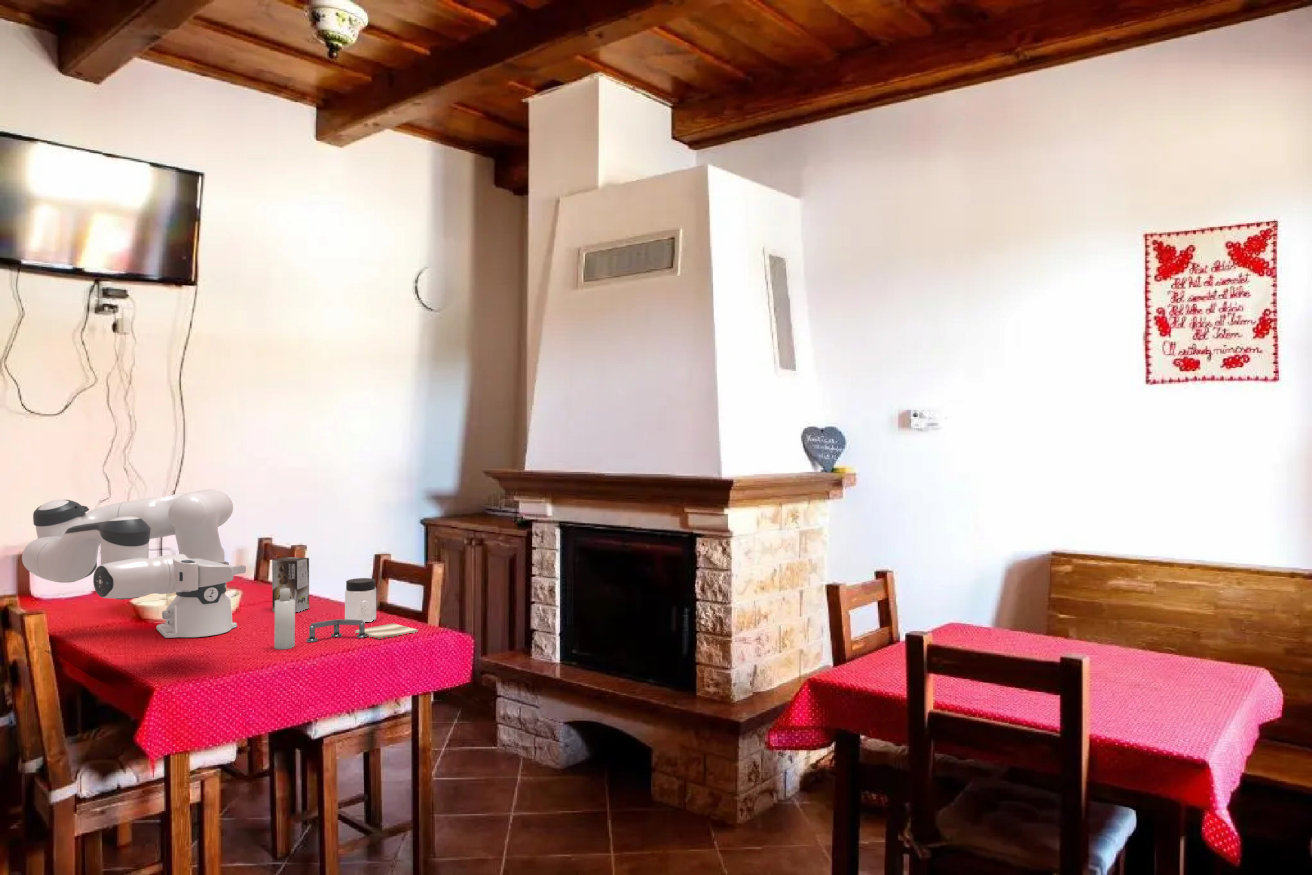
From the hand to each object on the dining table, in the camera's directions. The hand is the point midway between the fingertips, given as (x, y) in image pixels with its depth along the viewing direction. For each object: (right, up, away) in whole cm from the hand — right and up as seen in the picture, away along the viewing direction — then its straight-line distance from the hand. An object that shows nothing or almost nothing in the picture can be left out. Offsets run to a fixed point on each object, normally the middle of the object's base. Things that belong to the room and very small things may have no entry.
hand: (236, 566), depth 218 cm
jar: (+17, -22, +42) cm, 50 cm away
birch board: (+29, -22, +27) cm, 45 cm away
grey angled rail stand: (+18, -22, +19) cm, 34 cm away
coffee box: (-10, -22, +57) cm, 62 cm away
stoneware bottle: (+8, -22, +10) cm, 25 cm away
